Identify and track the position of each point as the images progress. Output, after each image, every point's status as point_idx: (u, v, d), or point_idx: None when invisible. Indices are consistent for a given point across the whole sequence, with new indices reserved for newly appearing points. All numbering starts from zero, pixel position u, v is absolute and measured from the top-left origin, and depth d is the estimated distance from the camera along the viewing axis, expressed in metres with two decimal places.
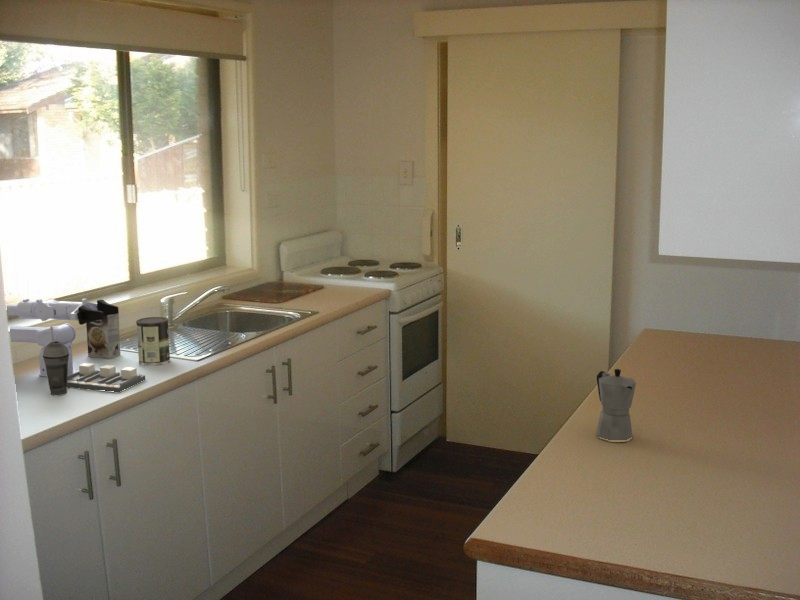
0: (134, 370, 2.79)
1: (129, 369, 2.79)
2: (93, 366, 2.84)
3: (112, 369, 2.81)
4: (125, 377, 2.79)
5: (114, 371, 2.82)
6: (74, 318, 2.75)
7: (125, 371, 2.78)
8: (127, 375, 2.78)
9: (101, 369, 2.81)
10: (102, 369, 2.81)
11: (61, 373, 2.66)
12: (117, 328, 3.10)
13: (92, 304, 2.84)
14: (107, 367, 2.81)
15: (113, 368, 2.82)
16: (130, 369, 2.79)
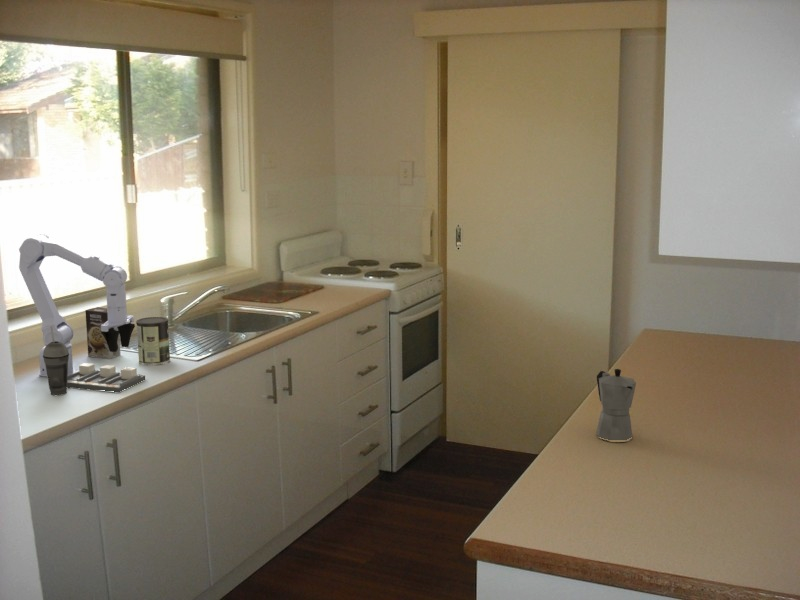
0: (134, 370, 2.79)
1: (129, 369, 2.79)
2: (93, 366, 2.84)
3: (112, 369, 2.81)
4: (125, 377, 2.79)
5: (114, 371, 2.82)
6: (102, 330, 2.79)
7: (125, 371, 2.78)
8: (127, 375, 2.78)
9: (101, 369, 2.81)
10: (102, 369, 2.81)
11: (61, 373, 2.66)
12: (117, 328, 3.10)
13: None
14: (107, 367, 2.81)
15: (113, 368, 2.82)
16: (130, 369, 2.79)
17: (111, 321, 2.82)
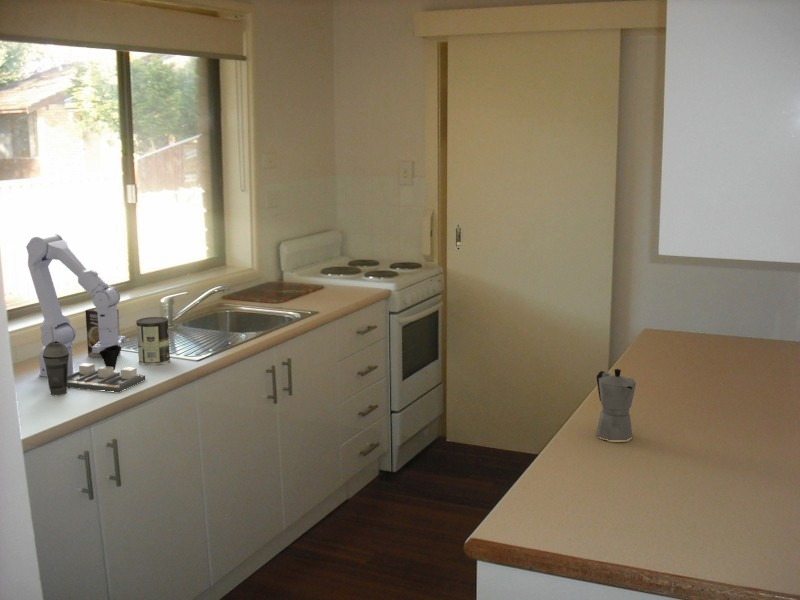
0: (134, 370, 2.79)
1: (129, 369, 2.79)
2: (93, 366, 2.84)
3: (110, 370, 2.80)
4: (125, 377, 2.79)
5: (112, 372, 2.81)
6: (93, 351, 2.75)
7: (125, 371, 2.78)
8: (127, 375, 2.78)
9: (99, 370, 2.80)
10: (100, 370, 2.80)
11: (61, 373, 2.66)
12: None
13: None
14: (105, 368, 2.80)
15: (111, 369, 2.81)
16: (130, 369, 2.79)
17: (102, 342, 2.79)
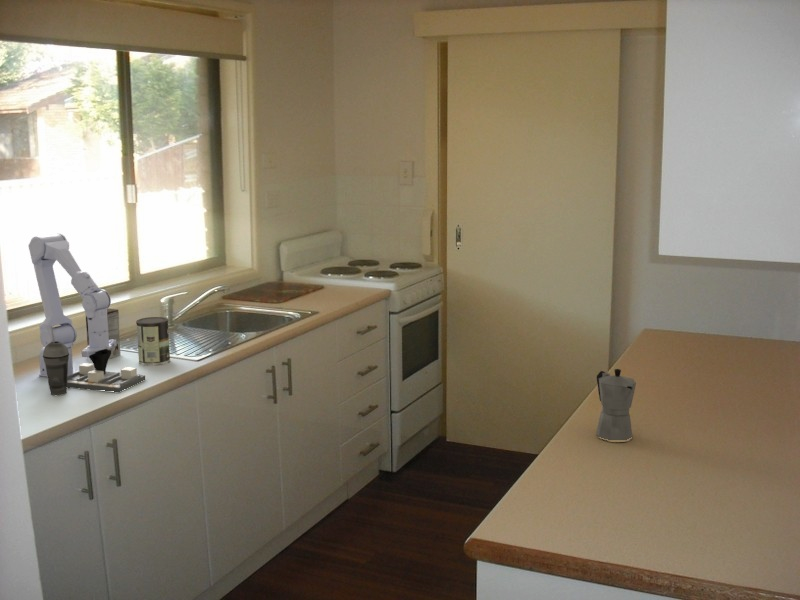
0: (134, 370, 2.79)
1: (129, 369, 2.79)
2: (93, 366, 2.84)
3: (100, 374, 2.76)
4: (125, 377, 2.79)
5: (102, 376, 2.77)
6: (83, 355, 2.71)
7: (125, 371, 2.78)
8: (127, 375, 2.78)
9: (89, 374, 2.75)
10: (90, 374, 2.75)
11: (61, 373, 2.66)
12: (117, 328, 3.10)
13: None
14: (95, 372, 2.75)
15: (101, 373, 2.76)
16: (130, 369, 2.79)
17: (92, 346, 2.74)
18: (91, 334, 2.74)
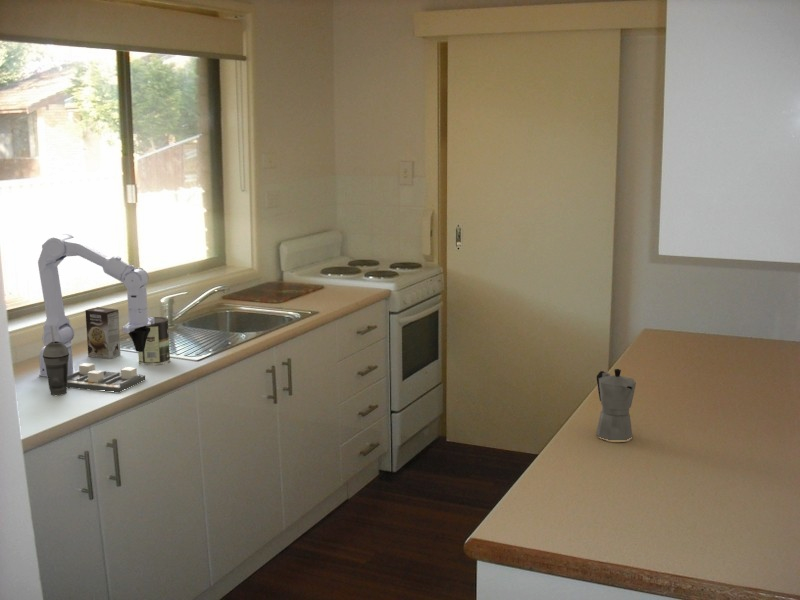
0: (134, 370, 2.79)
1: (129, 369, 2.79)
2: (93, 366, 2.84)
3: (100, 374, 2.76)
4: (125, 377, 2.79)
5: (102, 376, 2.77)
6: (123, 332, 2.77)
7: (125, 371, 2.78)
8: (127, 375, 2.78)
9: (89, 374, 2.75)
10: (90, 374, 2.75)
11: (61, 373, 2.66)
12: (117, 328, 3.10)
13: None
14: (95, 372, 2.75)
15: (101, 373, 2.76)
16: (130, 369, 2.79)
17: (132, 323, 2.80)
18: (131, 311, 2.80)
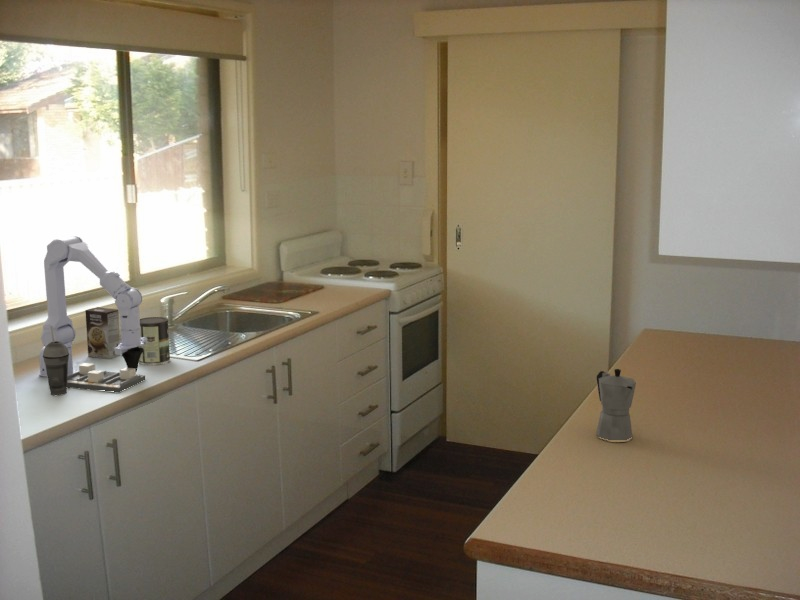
0: (133, 370, 2.79)
1: (128, 369, 2.78)
2: (93, 366, 2.84)
3: (100, 374, 2.76)
4: (124, 377, 2.78)
5: (102, 376, 2.77)
6: (116, 353, 2.73)
7: (124, 371, 2.78)
8: (126, 376, 2.78)
9: (89, 374, 2.75)
10: (90, 374, 2.75)
11: (61, 373, 2.66)
12: (117, 328, 3.10)
13: None
14: (95, 372, 2.75)
15: (101, 373, 2.76)
16: (129, 369, 2.78)
17: (125, 344, 2.77)
18: (124, 332, 2.77)
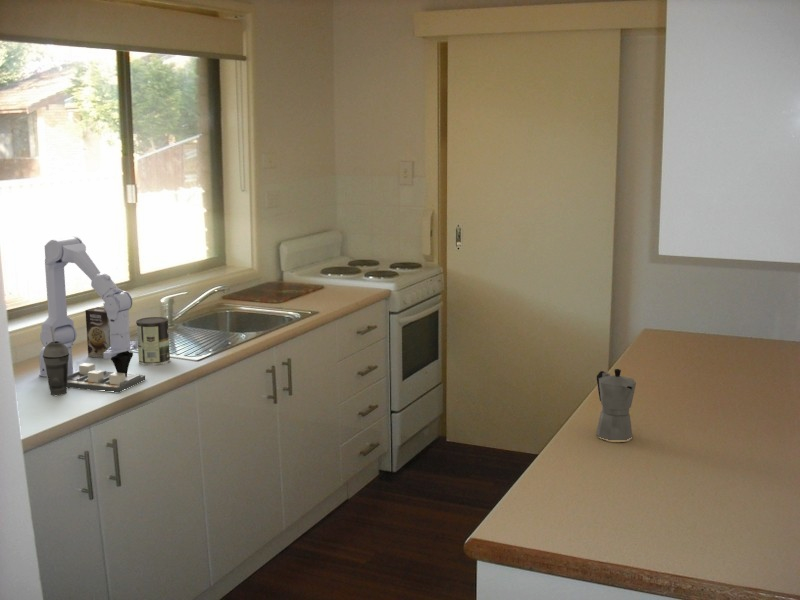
0: (123, 375, 2.74)
1: (117, 374, 2.73)
2: (93, 366, 2.84)
3: (100, 374, 2.76)
4: (113, 382, 2.73)
5: (102, 376, 2.77)
6: (105, 357, 2.68)
7: (113, 376, 2.73)
8: (115, 381, 2.73)
9: (89, 374, 2.75)
10: (90, 374, 2.75)
11: (61, 373, 2.66)
12: None
13: None
14: (95, 372, 2.75)
15: (101, 373, 2.76)
16: (118, 374, 2.73)
17: (114, 348, 2.72)
18: (113, 336, 2.71)
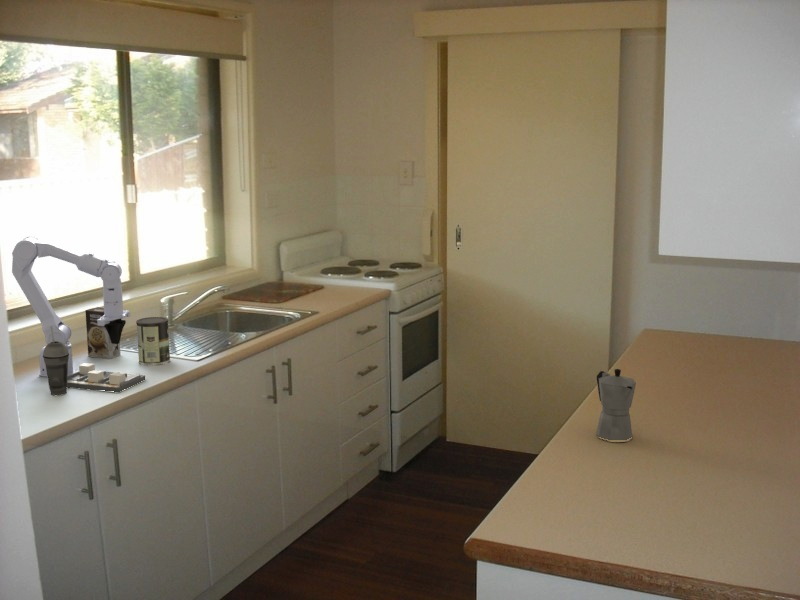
0: (122, 375, 2.74)
1: (117, 374, 2.73)
2: (93, 366, 2.84)
3: (100, 374, 2.76)
4: (113, 382, 2.73)
5: (102, 376, 2.77)
6: (98, 324, 2.82)
7: (113, 376, 2.72)
8: (115, 381, 2.73)
9: (89, 374, 2.75)
10: (90, 374, 2.75)
11: (61, 373, 2.66)
12: None
13: None
14: (95, 372, 2.75)
15: (101, 373, 2.76)
16: (118, 374, 2.73)
17: (107, 316, 2.85)
18: (106, 304, 2.85)
